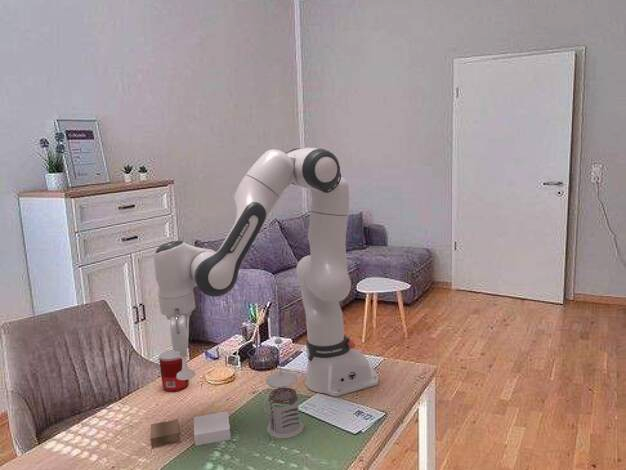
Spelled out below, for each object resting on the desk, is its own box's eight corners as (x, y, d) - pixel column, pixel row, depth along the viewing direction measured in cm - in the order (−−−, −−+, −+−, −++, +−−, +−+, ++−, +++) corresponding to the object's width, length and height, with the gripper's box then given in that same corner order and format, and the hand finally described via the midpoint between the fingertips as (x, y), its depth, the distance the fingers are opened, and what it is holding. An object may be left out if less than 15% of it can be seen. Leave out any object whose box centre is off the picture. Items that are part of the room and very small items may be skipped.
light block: (228, 421, 144) (227, 411, 143) (231, 439, 135) (230, 428, 134) (194, 427, 142) (193, 417, 141) (195, 446, 133) (194, 435, 133)
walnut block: (179, 429, 142) (177, 418, 142) (180, 443, 135) (178, 432, 135) (152, 434, 140) (150, 424, 140) (151, 449, 134) (150, 438, 133)
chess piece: (190, 380, 138) (186, 344, 136) (173, 379, 139) (169, 344, 137) (198, 372, 143) (194, 337, 141) (181, 371, 144) (177, 336, 142)
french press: (311, 427, 138) (305, 337, 134) (276, 446, 131) (268, 351, 126) (288, 413, 146) (281, 328, 141) (253, 431, 138) (245, 341, 133)
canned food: (192, 386, 165) (189, 353, 163) (167, 395, 161) (163, 361, 159) (183, 378, 171) (180, 346, 169) (159, 386, 167) (155, 353, 165)
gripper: (189, 315, 127) (196, 368, 130) (190, 291, 147) (196, 337, 150) (162, 318, 126) (169, 372, 129) (166, 294, 146) (173, 341, 149)
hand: (184, 353), depth 140 cm, fingers closed on chess piece
